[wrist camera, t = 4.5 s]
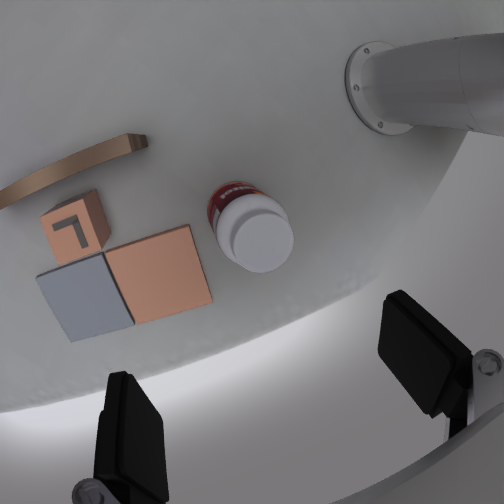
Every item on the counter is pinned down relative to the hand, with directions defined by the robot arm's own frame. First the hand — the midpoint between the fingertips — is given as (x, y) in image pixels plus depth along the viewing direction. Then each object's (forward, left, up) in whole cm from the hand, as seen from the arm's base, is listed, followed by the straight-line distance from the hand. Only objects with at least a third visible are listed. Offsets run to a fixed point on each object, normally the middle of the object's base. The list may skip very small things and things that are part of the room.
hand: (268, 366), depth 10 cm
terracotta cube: (+12, -3, -23) cm, 27 cm away
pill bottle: (-4, +1, -23) cm, 24 cm away
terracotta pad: (+6, +6, -23) cm, 25 cm away
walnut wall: (+12, -8, -23) cm, 28 cm away
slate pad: (+16, +6, -23) cm, 29 cm away
